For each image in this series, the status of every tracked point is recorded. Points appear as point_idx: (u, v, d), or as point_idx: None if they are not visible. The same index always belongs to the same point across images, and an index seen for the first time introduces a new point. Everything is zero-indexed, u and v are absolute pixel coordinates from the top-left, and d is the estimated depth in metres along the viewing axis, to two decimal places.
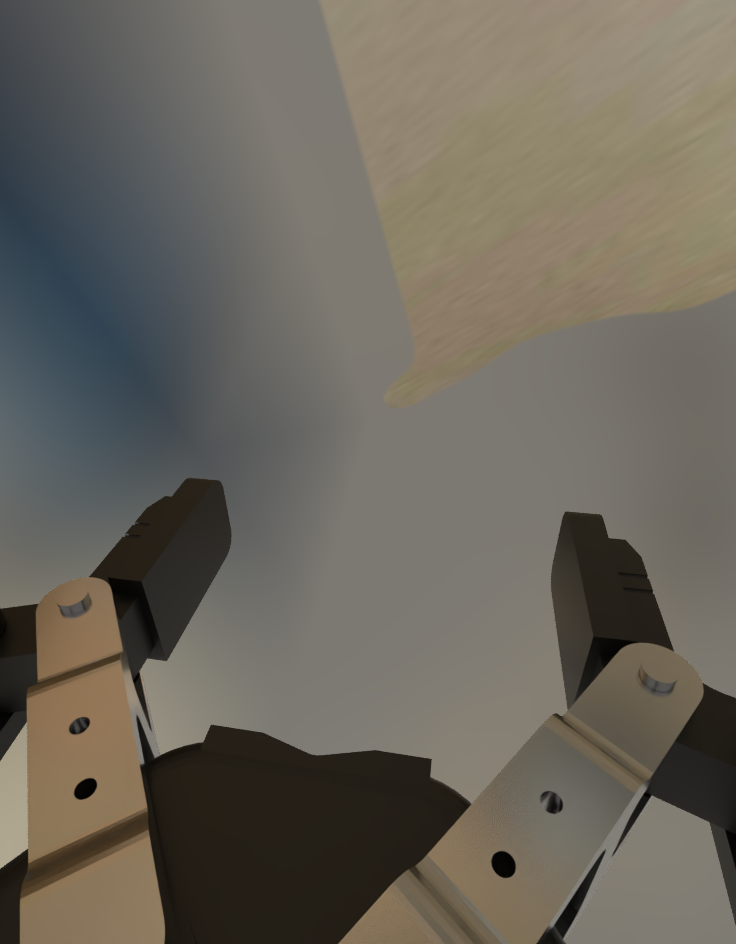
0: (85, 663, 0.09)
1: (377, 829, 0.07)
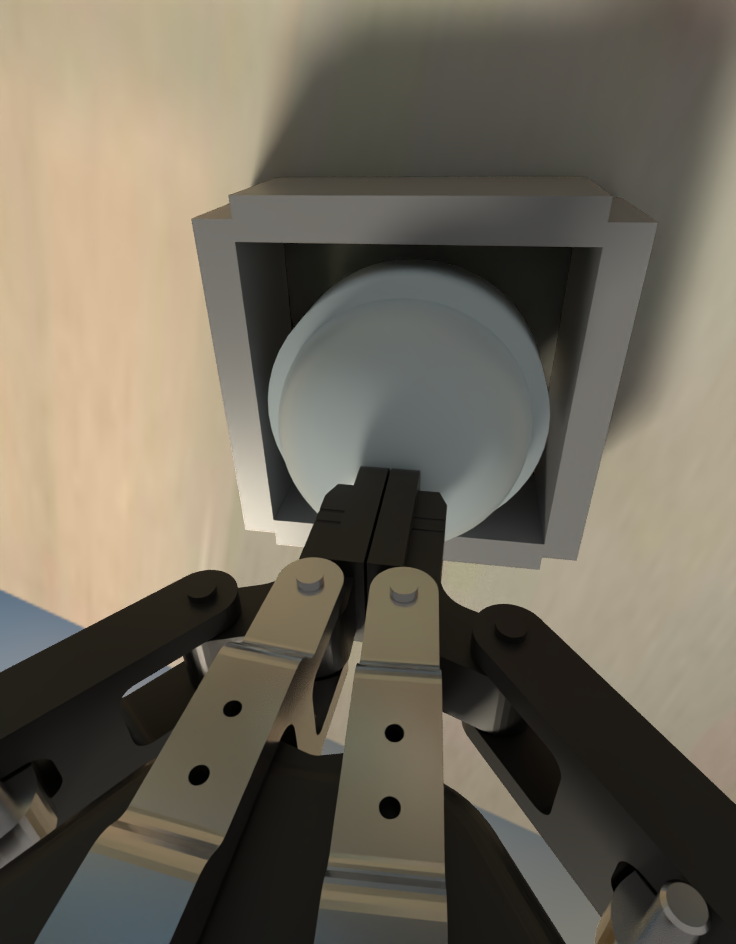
0: (282, 645, 0.09)
1: None
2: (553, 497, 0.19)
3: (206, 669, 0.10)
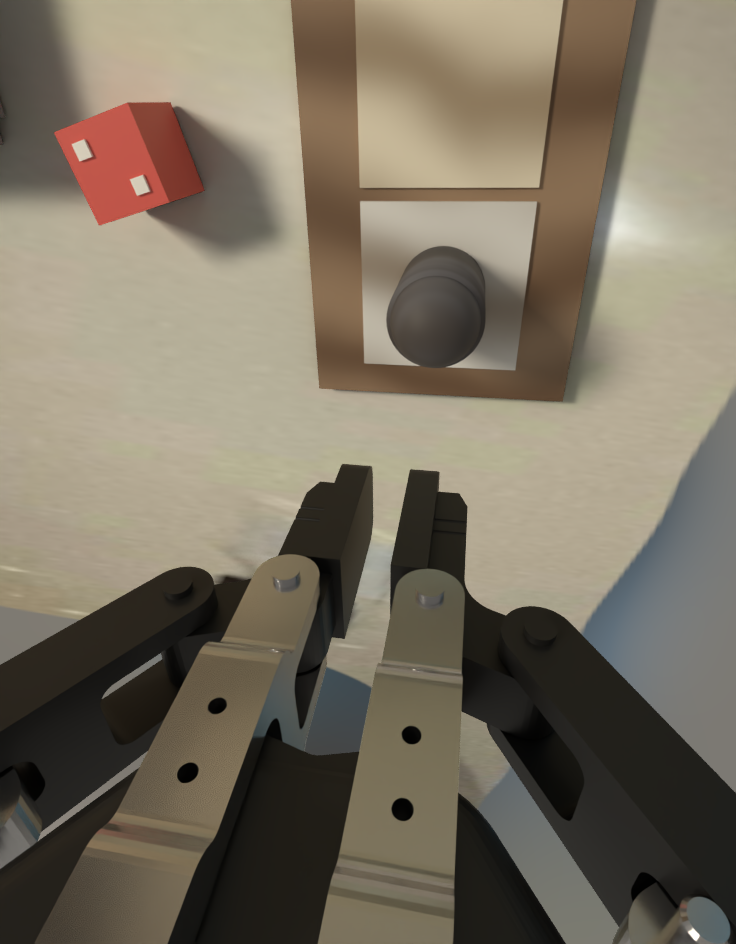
0: (262, 641, 0.09)
1: None
2: None
3: (185, 665, 0.10)
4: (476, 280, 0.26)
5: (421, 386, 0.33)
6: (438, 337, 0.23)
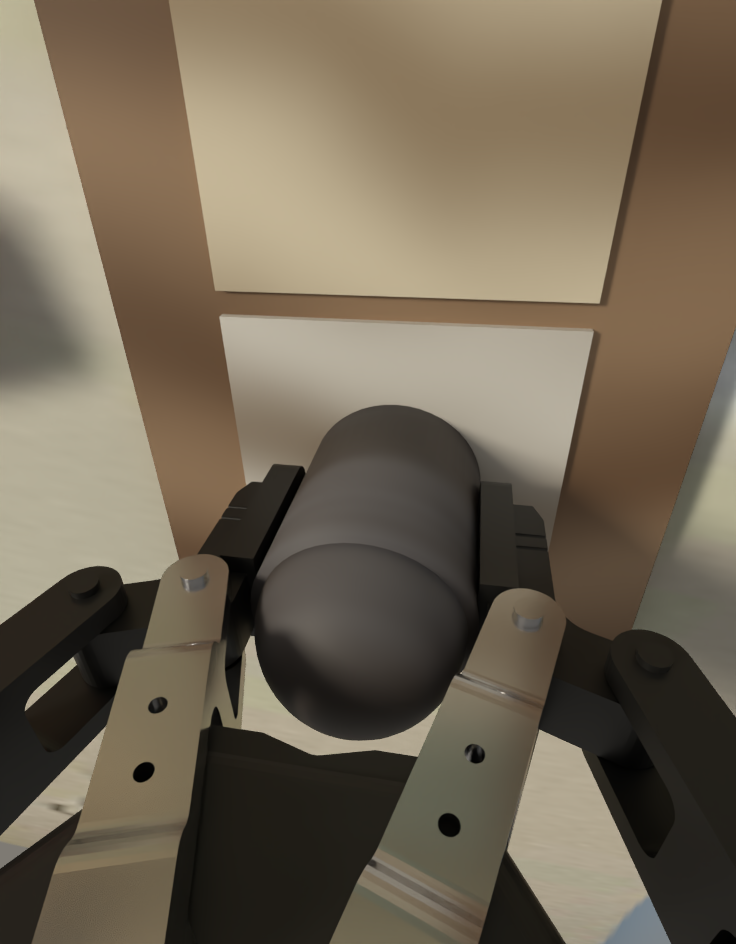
0: (186, 640, 0.09)
1: (377, 829, 0.07)
2: None
3: (104, 662, 0.10)
4: (458, 521, 0.11)
5: None
6: (356, 719, 0.09)
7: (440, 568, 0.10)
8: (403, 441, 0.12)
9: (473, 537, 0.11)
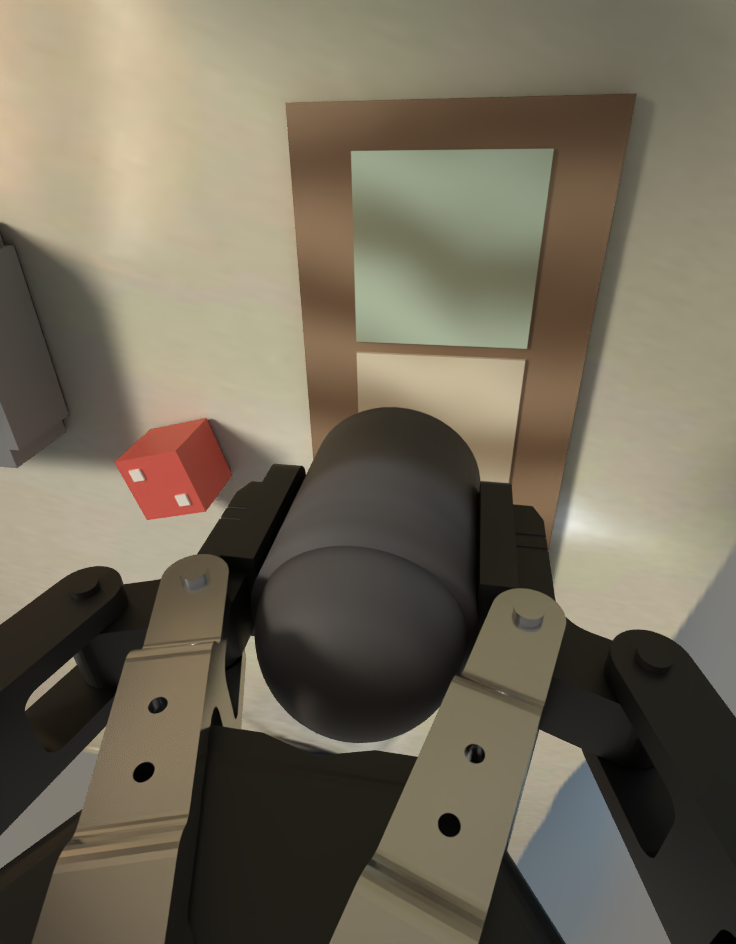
0: (186, 640, 0.09)
1: (377, 829, 0.07)
2: None
3: (104, 662, 0.10)
4: (458, 523, 0.11)
5: None
6: (356, 721, 0.09)
7: (440, 571, 0.10)
8: (403, 443, 0.12)
9: (473, 539, 0.12)
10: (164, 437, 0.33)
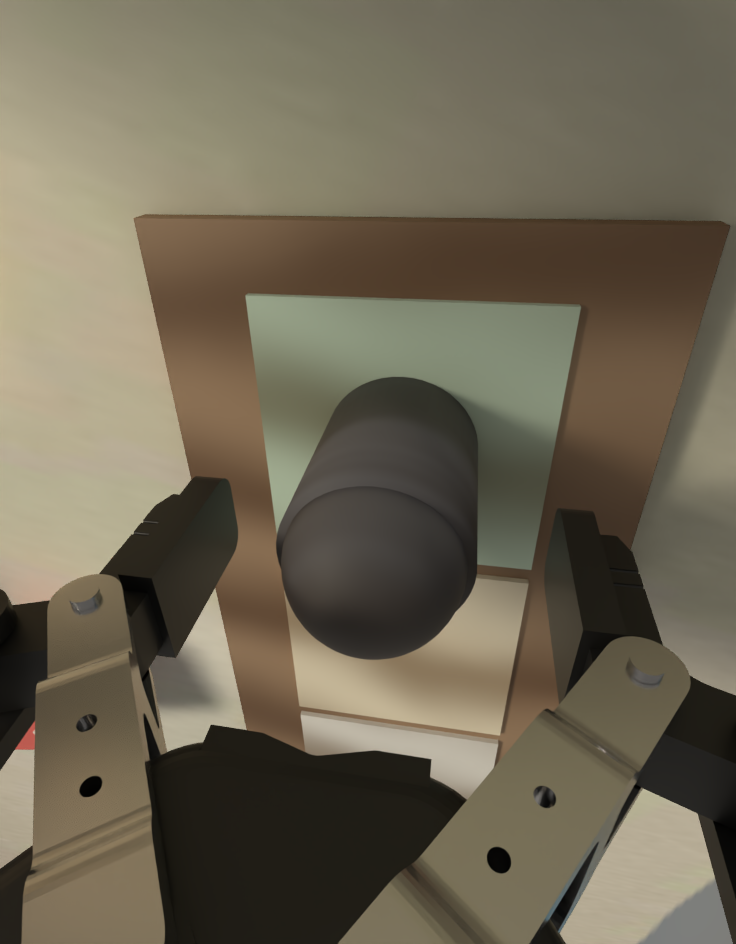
0: (94, 660, 0.09)
1: (377, 829, 0.07)
2: None
3: (2, 682, 0.10)
4: (459, 473, 0.13)
5: None
6: (372, 634, 0.11)
7: (444, 508, 0.11)
8: (409, 406, 0.14)
9: (472, 488, 0.13)
10: None
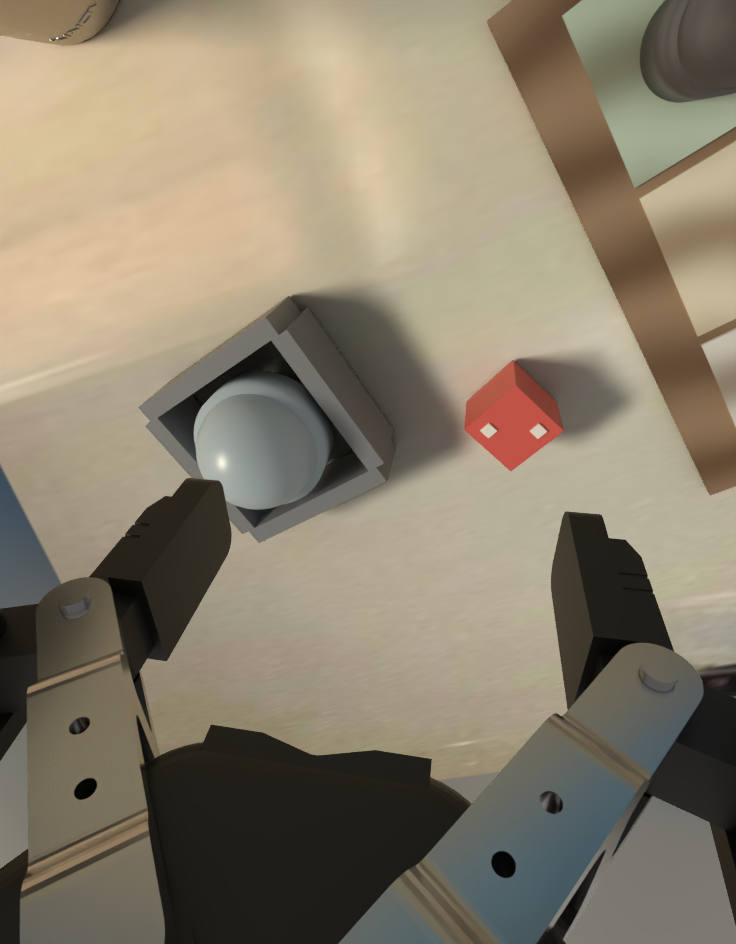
0: (85, 663, 0.09)
1: (377, 829, 0.07)
2: (275, 517, 0.39)
3: None
4: None
5: None
6: None
7: None
8: None
9: None
10: (489, 392, 0.35)
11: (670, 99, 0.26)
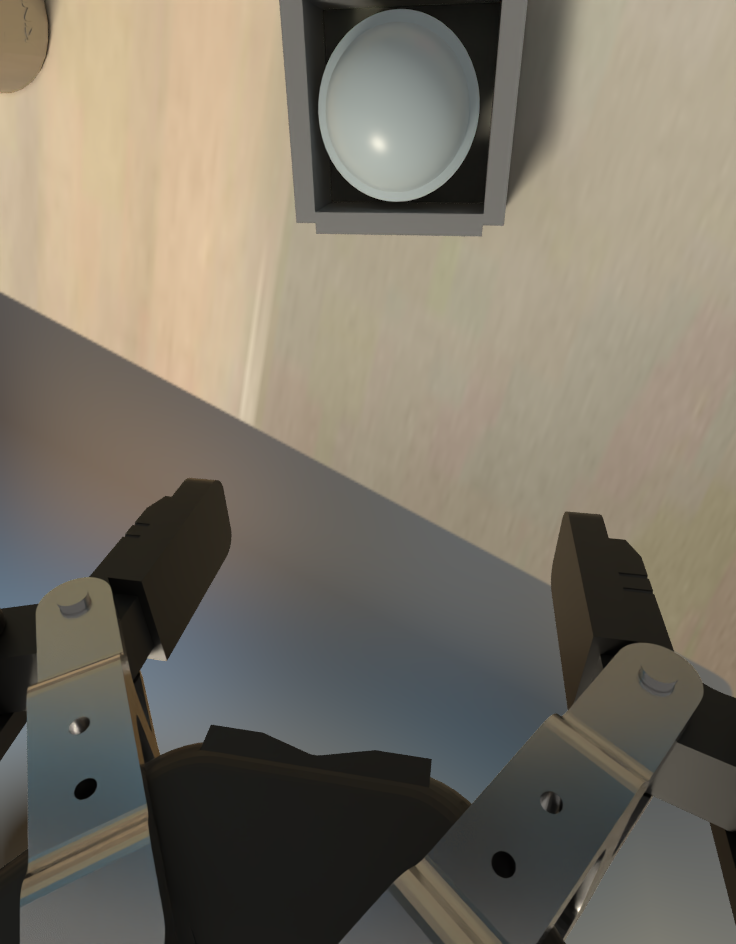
0: (85, 663, 0.09)
1: (377, 829, 0.07)
2: (487, 174, 0.32)
3: None
4: None
5: None
6: None
7: None
8: None
9: None
10: None
11: None
